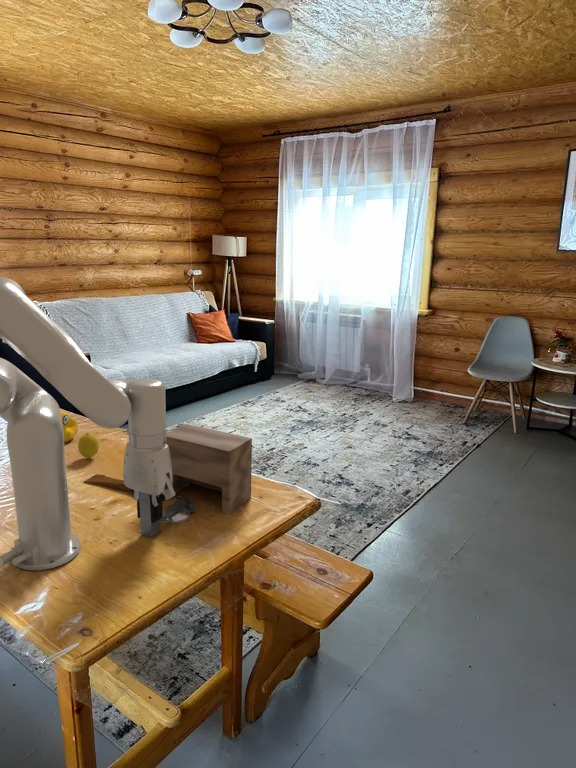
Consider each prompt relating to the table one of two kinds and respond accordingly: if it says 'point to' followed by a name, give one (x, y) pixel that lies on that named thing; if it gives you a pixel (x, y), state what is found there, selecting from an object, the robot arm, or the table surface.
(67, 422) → the duckling
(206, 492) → the table surface
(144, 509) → the hoe
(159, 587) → the table surface
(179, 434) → the wooden bridge block
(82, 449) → the lemon
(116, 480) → the primitive tool
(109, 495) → the table surface
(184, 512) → the steel token
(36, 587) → the table surface
